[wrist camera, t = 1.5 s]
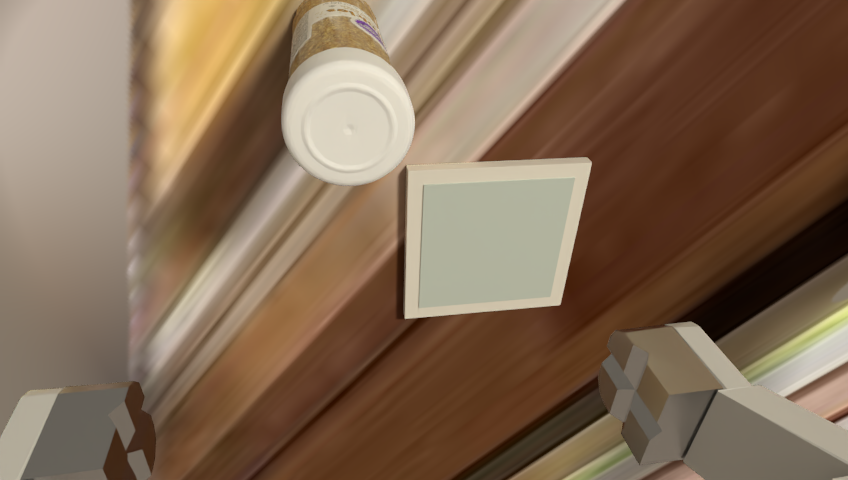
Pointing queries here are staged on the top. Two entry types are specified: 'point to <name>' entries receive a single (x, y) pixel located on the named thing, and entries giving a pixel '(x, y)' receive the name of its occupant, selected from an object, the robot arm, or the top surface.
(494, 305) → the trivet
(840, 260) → the top surface
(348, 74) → the sprinkles bottle
